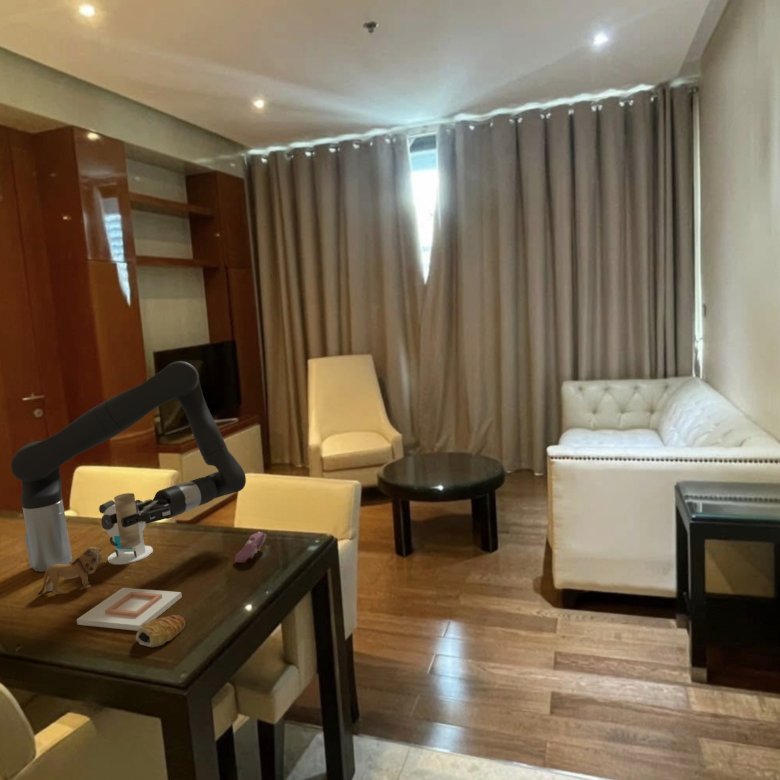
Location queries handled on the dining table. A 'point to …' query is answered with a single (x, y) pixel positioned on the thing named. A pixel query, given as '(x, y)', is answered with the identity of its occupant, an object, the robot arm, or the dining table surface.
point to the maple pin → (123, 509)
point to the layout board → (129, 608)
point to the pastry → (160, 630)
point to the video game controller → (251, 547)
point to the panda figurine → (112, 529)
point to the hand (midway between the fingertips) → (116, 521)
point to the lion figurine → (73, 570)
